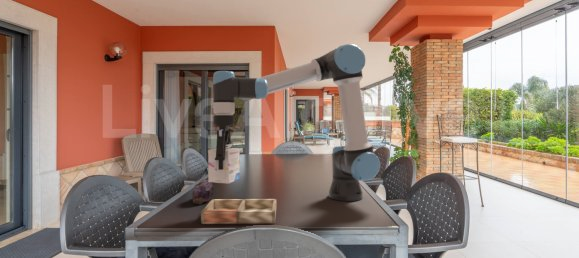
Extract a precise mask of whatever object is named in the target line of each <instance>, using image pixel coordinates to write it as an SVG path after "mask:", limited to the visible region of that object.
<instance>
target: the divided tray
mask: <svg viewBox="0 0 579 258" xmlns="http://www.w3.org/2000/svg"><path fill="white" fill-rule="evenodd" d="M276 215H277V198H241V199H239V198H237V199H236V198H232V199H231V198H229V199H228V198H227V199H226V198H223V199H222V198H219V199H218V198H217V199H215V198H213V199H211V200H209V202H208V204H207V205H206V206H205V207H204V208H203V209H202V210H201V211H200V224H201V225H202V224H203V225H205V224H206V225H210V224H211V225H213V224H214V225H215V224H217V225H218V224H220V225H221V224H222V225H224V224H225V225H227V224H231V225H233V224H234V225H235V224H276V217H277V216H276Z"/></svg>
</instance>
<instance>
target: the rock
mask: <svg viewBox="0 0 579 258" xmlns="http://www.w3.org/2000/svg"><path fill="white" fill-rule="evenodd" d="M214 191H215V187H214V185H213V182H208V179H201V180H199V181H198V182H197V183H195V185H194V187H193V189H192V193H191V195H192V203H193V204H196V205H201V204H204V203H206V202H207V203H209V202H210V199H211V197H212V196H213V194H214Z"/></svg>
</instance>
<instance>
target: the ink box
mask: <svg viewBox="0 0 579 258" xmlns="http://www.w3.org/2000/svg"><path fill="white" fill-rule="evenodd" d="M226 146H228V147H226V150H225V163H226V179H217V160H215V158H216V148H212V149H211V148H210V149H208V150H207V152H208V153H207V154H208V156H207V160H208V161H207V164H208V166H207V169H208V170H207V171H208V174H207V175H208V176H207V177H208V179H207V180H208V182H211V183H217V184H232V183H233V182H236V181H238V180H240V179H241V177H240V175H241V174H240V164H241V162H240V158H241V157H240V154H241V153H240V151H241V150H240V148H235V147H233V148H232V146H234V143H231V144H228V145H226ZM230 147H231V148H230Z"/></svg>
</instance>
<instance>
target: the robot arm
mask: <svg viewBox="0 0 579 258" xmlns="http://www.w3.org/2000/svg"><path fill="white" fill-rule="evenodd" d="M365 65H366V55H365V53H364V50H362V48H360V47H359V46H358V45H356V44H353V43H346V44H342V45H339V46H338V47H337V48H335V49H333V50H330V51H329V52H327V53H325V54H323V55H321V56H320V57H319V56H318V57H317V58H314V59H312V60H311V61H310V62H308V63H306V64H302V65H298V66H295V67H291V68H288V69H284V70H282V71H278V72H275V73H271V74H267V75H264V76H261V77H256V78H255V77H253V78H251V77H236V76H235V73H234V71H231V70H218V71H215V72H214V73H213V78H212V79H213V80H212V88H213V89H212V94H213V96H212V97H213V100H212V101H213V102H212V103H213V104H212V105H211V108H212V110H213V111H212V112H213V114H214V115H213V116H212V117H213V118H212V119H213V126H218V127H219V128H218V129H217V130H216V148H215V149H216V158H215V160H217V179H226V163H225V150H226V147H228V146H226V145H228V144H232V138H231V137H232V136H231V135H232V134H231V133H232V132H231V131H232V130H231V128H230V127H229V126H231V127H232V126H234V125H235V123H236V122H235V121H236V120H235V115H234V114H235V112H236V111H235V110H236V109H235V108H236V106H235V105H236V104H235V103H236V102H235V99H240V100H242V101H244V102H248V101H251V100H261V99H262V100H263V99H266V98H267V96H268V95H269V94H273V93H277V92H280V91H284V90H287V89H289V88H290V89H291V88H293V87H296V86H300V85H303V84H306V83H309V82H310V83H311V82H313V81H317V82H321V81H324V80H330V79H332V81H333V83H334V84H335V85H337V89H338V94H339V95H338V96H339V101H340V109H341V116H342V123H343V128H344V135H345V143H346V144H345V145H340V146H337V145H336V146H334V147H333V148H332V154H331V156H332V157H331V158H332V179H331V183H330V186H329V189H328V198H330V199H331V200H335V201H339V202H340V201H341V202H343V201H344V202H354V201H360V200H362V199H363V198H364V196H363V190H362V185H361V183H360V181H363V182H366V181H367V182H368V181H371V180H373V179H374V178H375V177H376V176H377V174H378V173H380V169H381V161H380V158H379V157H378V156H377V154H375V153H374V148H373V144H372V143H371V142H369V140H368V134H367V128H366V127H367V126H366V118H365V112H364V107H363V106H364V104H363V98H362V91H361V86H360V85H361V83H360V82H361V81H362V79H363V69H364V67H365ZM230 148H232V146H231V147H230Z"/></svg>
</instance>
